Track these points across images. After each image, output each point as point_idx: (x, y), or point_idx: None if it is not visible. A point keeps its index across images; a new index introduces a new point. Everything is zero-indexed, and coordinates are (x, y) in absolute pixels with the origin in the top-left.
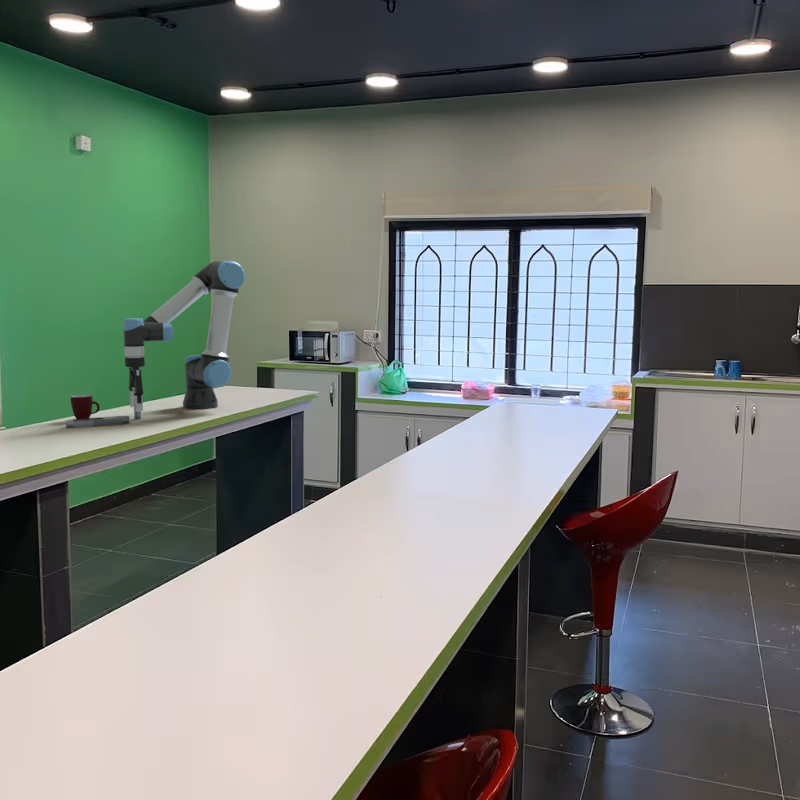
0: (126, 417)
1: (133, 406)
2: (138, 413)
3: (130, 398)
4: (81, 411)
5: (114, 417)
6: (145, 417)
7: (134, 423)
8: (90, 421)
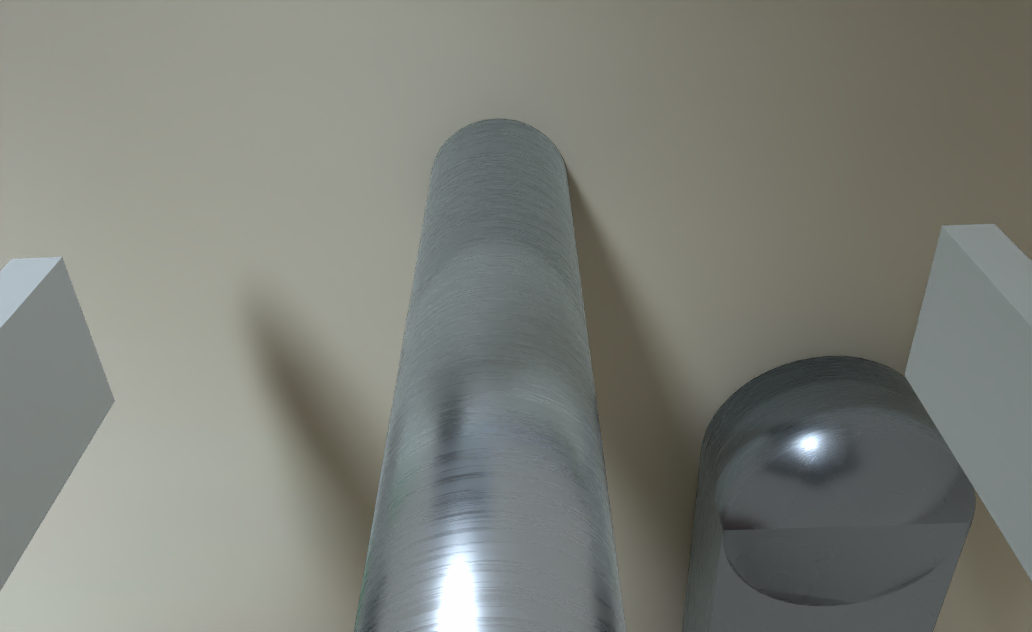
0: None
1: (86, 351)
2: (574, 236)
3: (10, 570)
4: None
5: (847, 614)
6: (351, 8)
7: None
8: None
